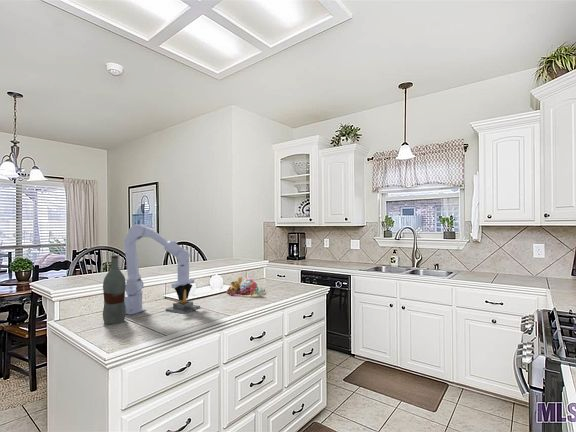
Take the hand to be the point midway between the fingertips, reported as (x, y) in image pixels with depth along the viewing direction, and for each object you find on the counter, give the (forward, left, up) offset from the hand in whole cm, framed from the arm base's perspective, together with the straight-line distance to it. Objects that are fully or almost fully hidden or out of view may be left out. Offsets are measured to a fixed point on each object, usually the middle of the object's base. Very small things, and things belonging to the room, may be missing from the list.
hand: (183, 299), depth 170 cm
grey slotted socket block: (0, 0, -5) cm, 5 cm away
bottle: (-29, +14, -5) cm, 33 cm away
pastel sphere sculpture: (+47, -9, -6) cm, 48 cm away
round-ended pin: (0, 0, -2) cm, 2 cm away
